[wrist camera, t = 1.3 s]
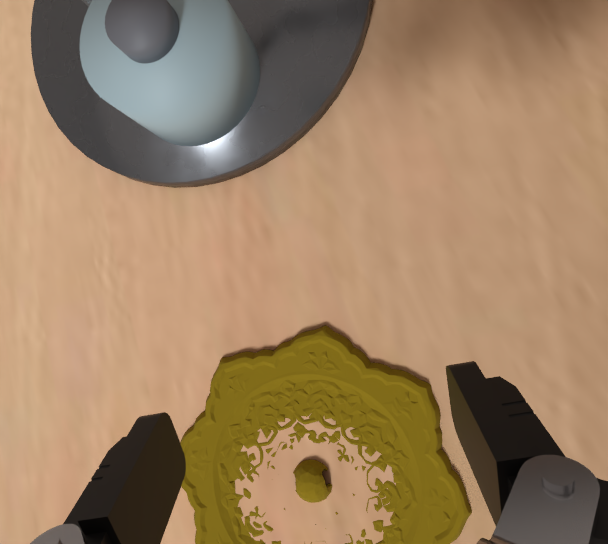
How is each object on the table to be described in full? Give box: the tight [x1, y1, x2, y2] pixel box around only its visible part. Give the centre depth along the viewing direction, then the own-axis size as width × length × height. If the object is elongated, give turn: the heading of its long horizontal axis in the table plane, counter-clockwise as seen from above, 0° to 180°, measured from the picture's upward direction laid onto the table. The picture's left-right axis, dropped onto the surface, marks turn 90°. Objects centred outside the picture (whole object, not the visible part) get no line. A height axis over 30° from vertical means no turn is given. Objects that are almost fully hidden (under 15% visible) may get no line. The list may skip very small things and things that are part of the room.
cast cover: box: [80, 0, 260, 146], centre depth 29 cm, size 10×10×8 cm
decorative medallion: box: [180, 325, 472, 544], centre depth 30 cm, size 20×20×2 cm
